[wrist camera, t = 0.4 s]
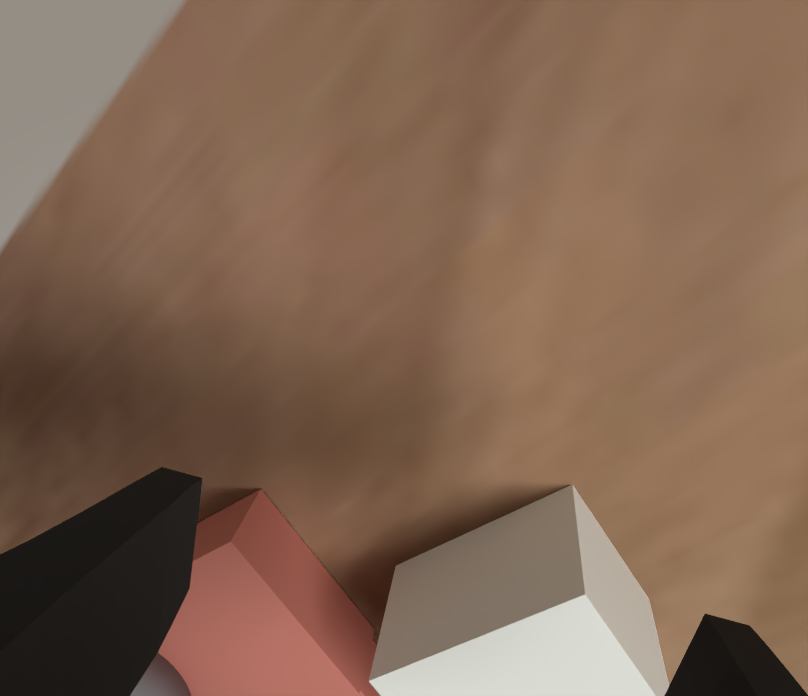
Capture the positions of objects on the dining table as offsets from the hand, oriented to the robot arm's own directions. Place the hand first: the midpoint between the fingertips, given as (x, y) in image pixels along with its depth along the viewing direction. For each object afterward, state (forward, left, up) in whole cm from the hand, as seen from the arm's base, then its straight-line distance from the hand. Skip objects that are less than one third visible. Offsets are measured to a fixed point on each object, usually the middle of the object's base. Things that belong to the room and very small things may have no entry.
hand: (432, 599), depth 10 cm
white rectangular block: (-7, +3, -10) cm, 13 cm away
